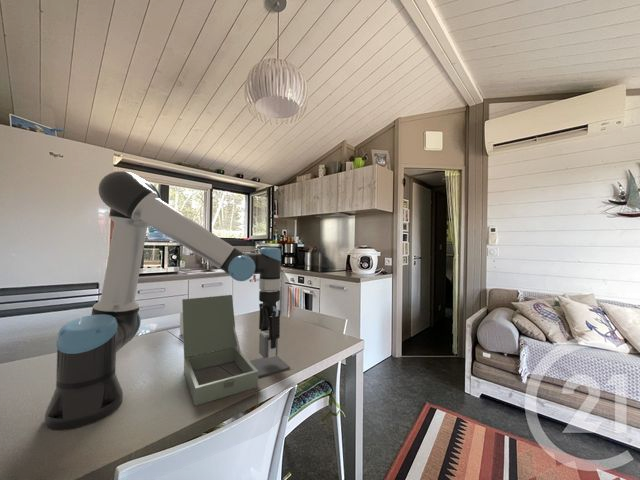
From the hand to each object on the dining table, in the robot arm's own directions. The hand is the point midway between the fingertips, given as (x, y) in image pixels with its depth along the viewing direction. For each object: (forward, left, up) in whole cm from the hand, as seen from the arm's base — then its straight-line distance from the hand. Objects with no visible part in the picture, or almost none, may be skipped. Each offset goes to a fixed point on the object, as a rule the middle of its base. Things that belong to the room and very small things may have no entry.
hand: (268, 353), depth 96 cm
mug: (-17, +49, -5) cm, 52 cm away
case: (-17, +4, -5) cm, 18 cm away
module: (0, 0, 0) cm, 0 cm away
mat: (0, 0, -5) cm, 5 cm away
